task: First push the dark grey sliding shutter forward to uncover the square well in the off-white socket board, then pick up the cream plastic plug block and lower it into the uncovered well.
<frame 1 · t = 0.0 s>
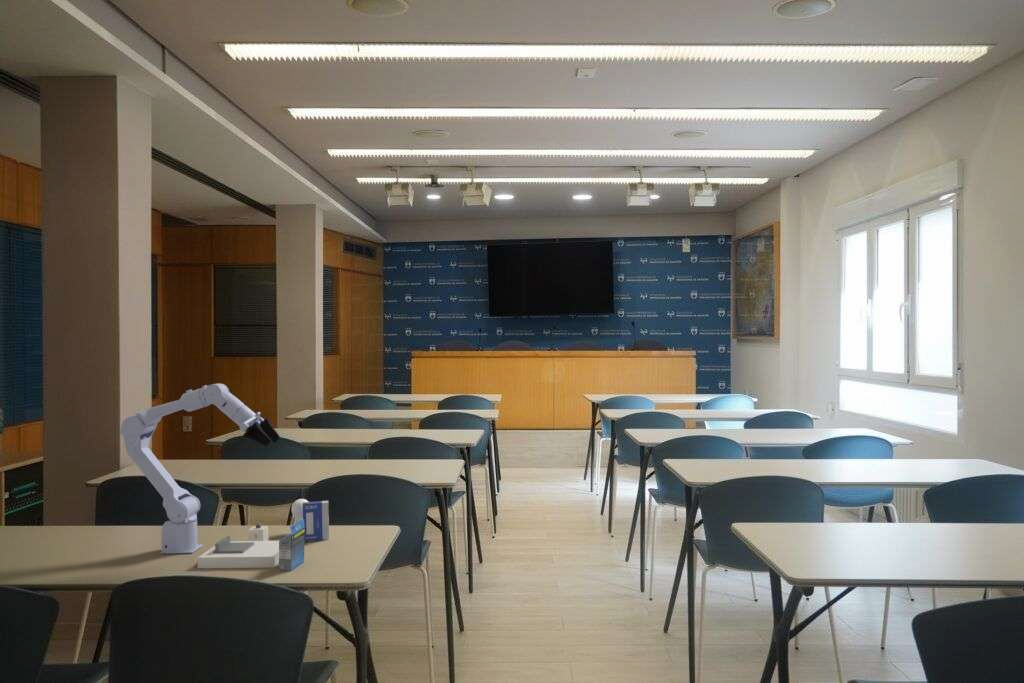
hand: (273, 441, 222), 32 cm above the table, tool tilted 50°, fingers open, 7 cm apart
socket board: (234, 559, 213), on the table
shutter: (233, 544, 213), point 4 cm above the table, slide at 0.0 cm
label tape box: (292, 566, 206), on the table
plug: (258, 545, 227), on the table
lightbulb: (301, 533, 241), on the table
walkman: (316, 540, 233), on the table
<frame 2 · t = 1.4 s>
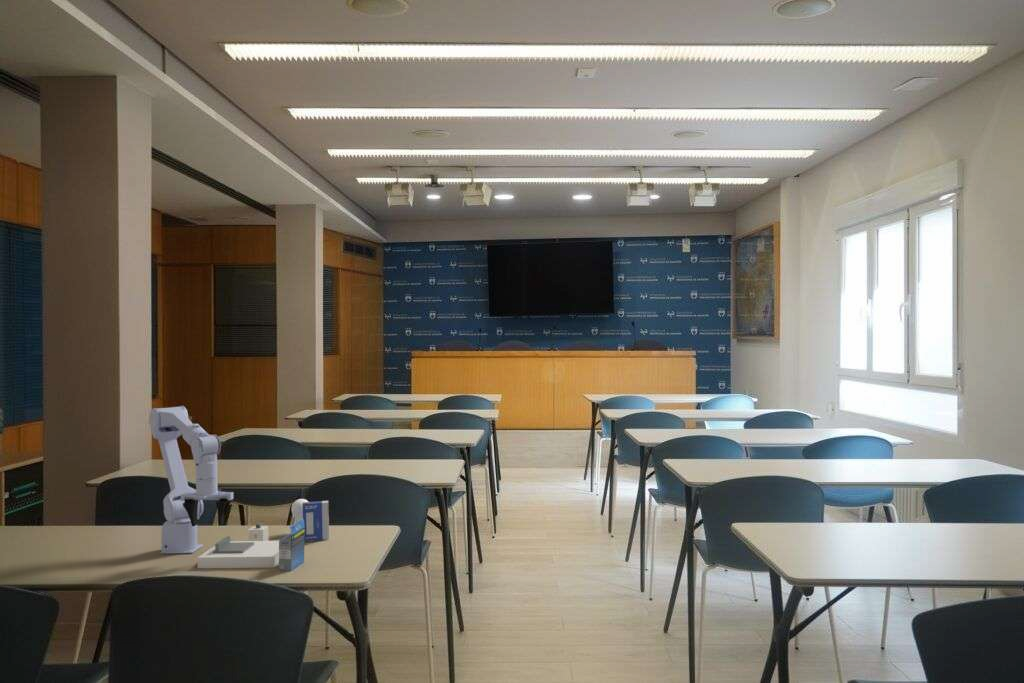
hand: (207, 525, 213), 10 cm above the table, tool pointing down, fingers open, 7 cm apart
nothing on the table moved.
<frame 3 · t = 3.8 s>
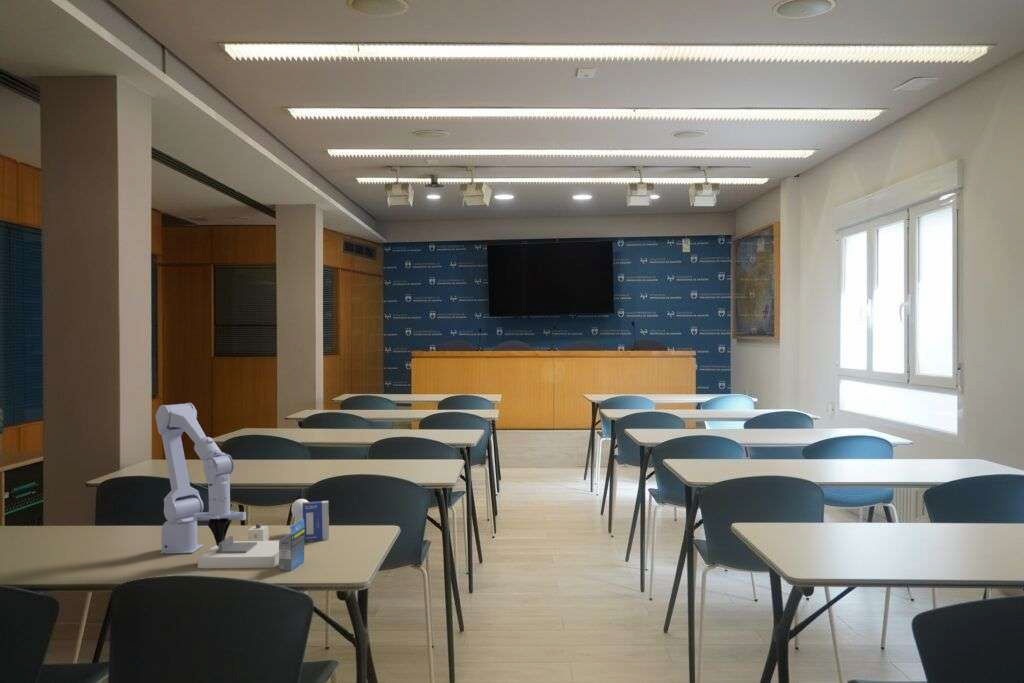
hand: (220, 545, 213), 4 cm above the table, tool pointing down, fingers closed
shutter: (236, 544, 213), point 4 cm above the table, slide at 0.9 cm, touching gripper
everything else where it was.
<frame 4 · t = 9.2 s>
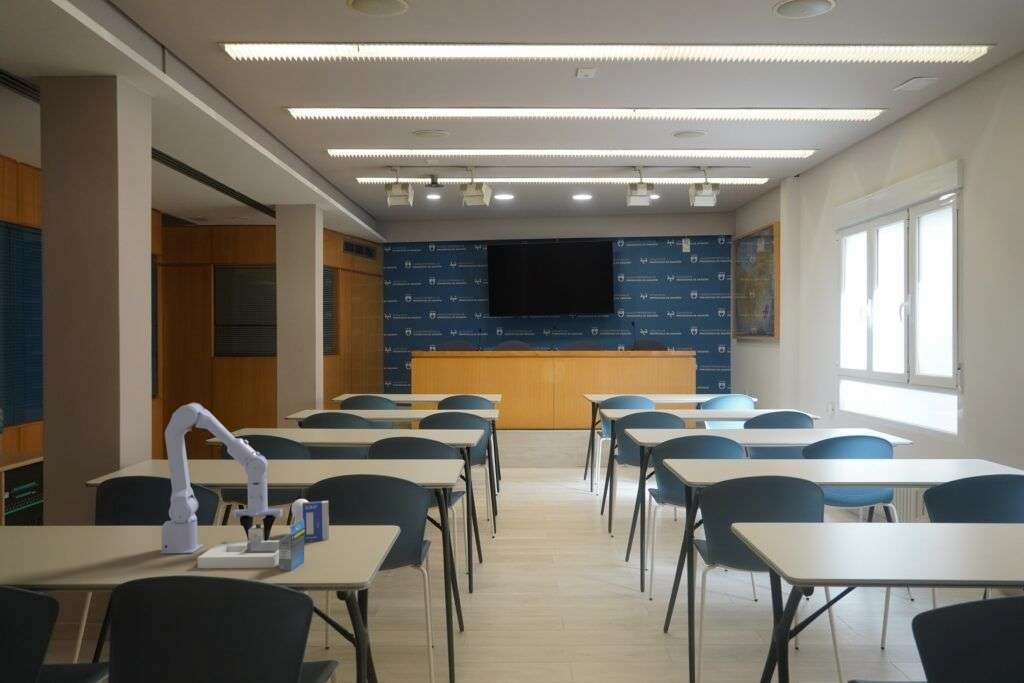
hand: (258, 540, 227), 2 cm above the table, tool pointing down, fingers closed on plug, 4 cm apart
shutter: (265, 543, 213), point 4 cm above the table, slide at 9.1 cm
plug: (258, 545, 227), on the table, touching gripper
everything else where it was.
when the fingers open (4 cm above the table, at t = 12.5 s): plug drops 2 cm, resting in socket board.
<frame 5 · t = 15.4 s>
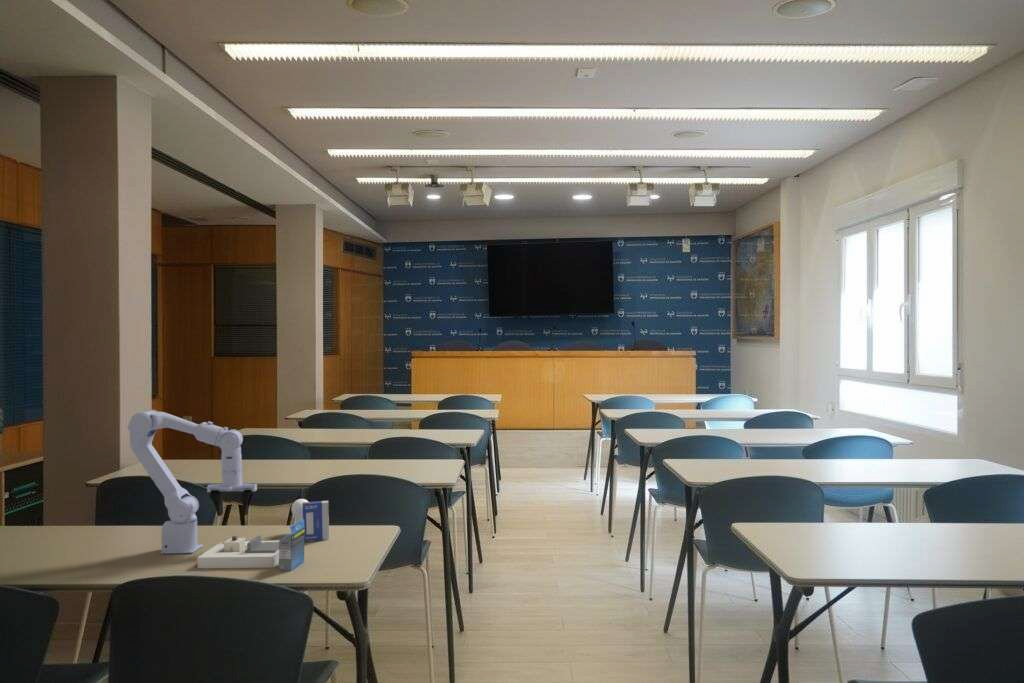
hand: (232, 515, 225), 10 cm above the table, tool pointing down, fingers open, 7 cm apart
plug: (235, 559, 213), resting in socket board
everything else where it was.
at the end: plug 0.4 cm off-centre on the socket board, point 0.0 cm above the socket board's base; shutter slide at 9.1 cm; plug tilted 0° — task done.
